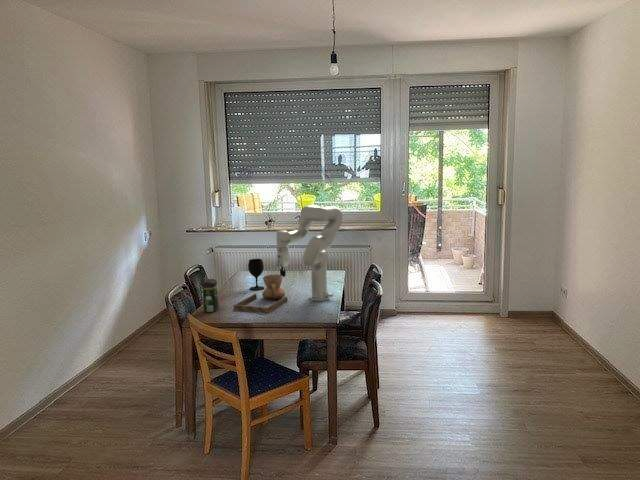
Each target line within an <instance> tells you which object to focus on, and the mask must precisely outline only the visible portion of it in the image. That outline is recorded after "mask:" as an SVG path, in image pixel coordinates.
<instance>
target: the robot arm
mask: <svg viewBox="0 0 640 480" xmlns="http://www.w3.org/2000/svg"><path fill="white" fill-rule="evenodd" d="M297 221H298V225H299V227H297V228H296V229H293V230H289V231H288V230H285V229H279V230H277V231H276V266H277V267H278V269H279V272H280V273H279V275H282V278H283V277H284V278H285V277H286V275H287V274H286V270H287V266H289V265H290V253H289V244H293V243H296V242H300V241H302V240H303V239H304V238H306V236H307V235H308V233H309V231H310V227H312V225H313V224H314V223H315V222H321V223H323V222H327V223H326V224H325V225H324V227H323V229H322V231H321V233H320V234H319V235H315V236H312V237H311V239H309V241H308V243H307V245H306V247H305V250H304V252H303V255H302V262H303V264H304V266H306V267H308V268H309V267H310V268H311V270H310V277H311V278H310V279H311V281H310V282H311V295H309V300H311V301H316V302H322V301H327V300H329V299H330V298H333V297H334V293H332V292H329V290H328V287H327V286H328V285H327V284H328V283H327V280H328V279H327V266H328V265H327V264H328V253H327V250H329V249H330V248H331V246H332V245H333V242H334V241H335V238H336V236H337V233H338V231H339V230H340V228H341V226H342V224H343V213H342V210H341V209H340V207H338V206H335V205H327V206H319V205H318V204H310V205H305V206H303V207H302V208H301V211H300V217H299V218H298V220H297Z"/></svg>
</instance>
